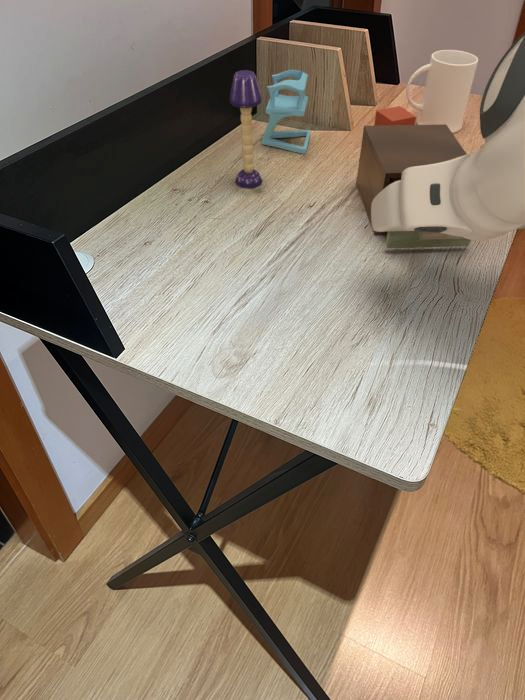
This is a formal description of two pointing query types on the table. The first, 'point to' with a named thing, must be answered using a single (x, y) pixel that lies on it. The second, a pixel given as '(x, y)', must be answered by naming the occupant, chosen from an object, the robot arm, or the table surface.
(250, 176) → the toy lamp
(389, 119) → the block
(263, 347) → the table surface
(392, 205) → the robot arm
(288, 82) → the chair
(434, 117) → the mug
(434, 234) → the drawer
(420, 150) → the cabinet
